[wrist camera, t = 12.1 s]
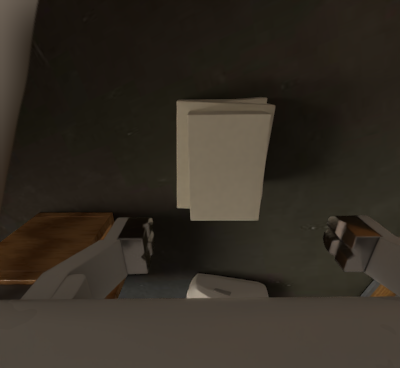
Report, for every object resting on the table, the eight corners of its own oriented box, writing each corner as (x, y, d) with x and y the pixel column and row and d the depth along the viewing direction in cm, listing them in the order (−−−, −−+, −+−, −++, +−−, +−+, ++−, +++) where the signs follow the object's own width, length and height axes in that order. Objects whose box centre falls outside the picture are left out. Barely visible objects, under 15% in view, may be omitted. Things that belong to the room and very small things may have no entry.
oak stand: (63, 277, 33) (-22, 393, 21) (38, 212, 28) (-94, 313, 16) (126, 277, 33) (79, 394, 21) (112, 212, 28) (39, 314, 16)
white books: (182, 186, 27) (177, 212, 21) (177, 97, 22) (169, 99, 17) (253, 186, 27) (266, 212, 21) (263, 96, 22) (283, 98, 17)
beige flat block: (191, 206, 21) (190, 221, 19) (189, 110, 17) (186, 114, 15) (252, 206, 21) (258, 220, 19) (262, 110, 17) (272, 113, 15)
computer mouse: (191, 270, 33) (189, 308, 27) (271, 282, 34) (285, 322, 28) (184, 298, 35) (180, 338, 29) (258, 309, 36) (269, 350, 30)
